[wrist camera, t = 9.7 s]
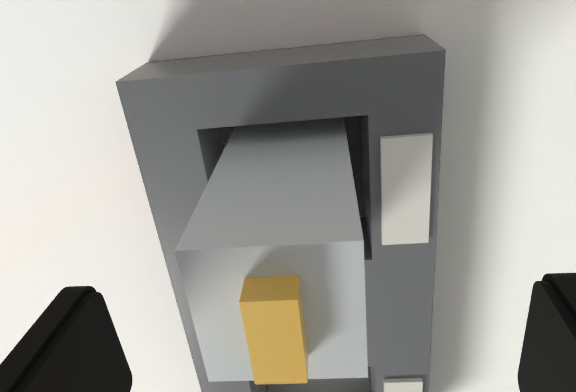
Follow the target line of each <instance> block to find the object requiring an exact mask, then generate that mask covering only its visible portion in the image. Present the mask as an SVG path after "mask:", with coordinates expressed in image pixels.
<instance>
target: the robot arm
mask: <svg viewBox="0 0 576 392" xmlns="http://www.w3.org/2000/svg"><path fill="white" fill-rule="evenodd" d="M518 385H519V389H520V392H576V273H553V274H545V275H544V277H543V279H542V281H536V282H535V283H534V285H533V290H532V295H531V301H530V307H529V313H528V318H527V324H526V330H525V336H524V341H523V347H522V353H521V359H520V364H519V370H518ZM131 387H132V374H131V371H130V368H129V365H128V363H127V360H126V357H125V355H124V352H123V349H122V346H121V344H120V341H119V338H118V336H117V333H116V330H115V327H114V325H113V322H112V319H111V317H110V314H109V311H108V309H107V306H106V303H105V300H104V298H103V296H102V294H101V293H99V292H96V290H95V289H94V288H93V287H91V286H75V287H65V288H63V289H62V290H61V291H60V292H59V294H58V295H57V296H56V297H55V299H54V300H53V301H52V302H51V303H50V305H49V306H48V307H47V308H46V310H45V311H44V312H43V313H42V314H41V316H40V317H39V318H38V319H37V321H36V322H35V323H34V324H33V325H32V327H31V328H30V329H29V330H28V331H27V333H26V334H25V335H24V336H23V338H22V339H21V340H20V341H19V342H18V344H17V345H16V346H15V347H14V349H13V350H12V351H11V352H10V353H9V355H8V356H7V357H6V358H5V360H4V361H3V362H2V363H1V364H0V392H130V390H131Z"/></svg>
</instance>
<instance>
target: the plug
mask: <svg viewBox="0 0 576 392" xmlns="http://www.w3.org/2000/svg"><path fill="white" fill-rule="evenodd" d="M175 254H176V258H177V262H178V266H179V270H180V273H181V277H182V281H183V285H184V289H185V293H186V297H187V300H188V304H189V308H190V312H191V316H192V320H193V323H194V327H195V331H196V335H197V339H198V343H199V347H200V350H201V354H202V358H203V362H204V366H205V370H206V373H207V377H208V381H209V382H218V381H254V382H255V385H258V384H299V383H308V379H336V378H368V360H367V329H366V298H365V267H364V240H363V233H362V227H361V221H360V215H359V209H358V203H357V197H356V190H355V184H354V178H353V172H352V166H351V160H350V154H349V147H348V141H347V135H346V129H345V123H344V117H339V118H327V119H315V120H303V121H291V122H279V123H267V124H256V125H244V126H235V128H234V130H233V132H232V134H231V136H230V138H229V140H228V142H227V144H226V146H225V148H224V150H223V152H222V155H221V157H220V159H219V161H218V163H217V165H216V167H215V169H214V171H213V173H212V175H211V177H210V179H209V181H208V183H207V185H206V187H205V189H204V192H203V194H202V196H201V198H200V200H199V202H198V204H197V206H196V208H195V210H194V212H193V214H192V216H191V218H190V220H189V222H188V224H187V226H186V228H185V231H184V233H183V235H182V237H181V239H180V241H179V243H178V245H177V247H176V249H175Z"/></svg>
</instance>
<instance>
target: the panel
mask: <svg viewBox="0 0 576 392" xmlns="http://www.w3.org/2000/svg"><path fill="white" fill-rule="evenodd" d="M444 67H445V49H443V48H442V47H440V46H439V45H438V44H436V43H435V42H434V41H432V40H431V39H429V38H428V37H427V36H425V35H415V36H405V37H395V38H385V39H375V40H365V41H355V42H345V43H335V44H325V45H315V46H305V47H295V48H285V49H275V50H265V51H255V52H245V53H235V54H225V55H215V56H205V57H195V58H186V59H176V60H166V61H156V62H147V63H145V64H144V65H142V66H141V67H139V68H137V69H136V70H134V71H132V72H131V73H129V74H128V75H126V76H124V77H123V78H121V79H119V80H118V81H116V86H117V89H118V93H119V96H120V100H121V104H122V107H123V111H124V114H125V118H126V121H127V125H128V129H129V132H130V136H131V139H132V143H133V147H134V150H135V154H136V157H137V161H138V165H139V168H140V172H141V175H142V179H143V183H144V186H145V190H146V193H147V197H148V200H149V204H150V208H151V211H152V215H153V218H154V222H155V226H156V229H157V233H158V236H159V240H160V244H161V247H162V251H163V254H164V258H165V262H166V265H167V269H168V272H169V276H170V279H171V283H172V287H173V290H174V294H175V297H176V301H177V305H178V308H179V312H180V315H181V319H182V323H183V326H184V330H185V333H186V337H187V341H188V344H189V348H190V351H191V355H192V359H193V362H194V366H195V369H196V373H197V376H198V380H199V384H200V387H201V391H202V392H268V389H267V384H258V385H255V382H254V381H218V382H209V381H208V377H207V373H206V370H205V366H204V362H203V358H202V354H201V350H200V347H199V343H198V339H197V335H196V331H195V327H194V323H193V320H192V316H191V312H190V308H189V304H188V300H187V297H186V293H185V289H184V285H183V281H182V277H181V273H180V270H179V266H178V262H177V258H176V254H175V249H176V247H177V245H178V243H179V241H180V239H181V237H182V235H183V233H184V231H185V228H186V226H187V224H188V222H189V220H190V218H191V216H192V214H193V212H194V210H195V208H196V206H197V204H198V202H199V200H200V198H201V196H202V194H203V192H204V189H205V187H206V185H207V183H208V181H209V179H210V177H211V175H212V173H213V171H214V169H215V167H216V165H217V163H218V161H219V159H220V157H221V155H222V152H223V150H224V148H223V143H222V137H221V132H220V127H232V126H244V125H256V124H267V123H279V122H291V121H303V120H315V119H327V118H339V117H351V116H361V121H362V150H363V180H364V209H365V218H363V219H360V221H361V227H362V233H363V240H364V267H365V298H366V329H367V360H368V367H370V386H371V392H428V389H429V369H430V349H431V329H432V309H433V289H434V269H435V248H436V228H437V208H438V188H439V168H440V148H441V127H442V107H443V87H444Z"/></svg>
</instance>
